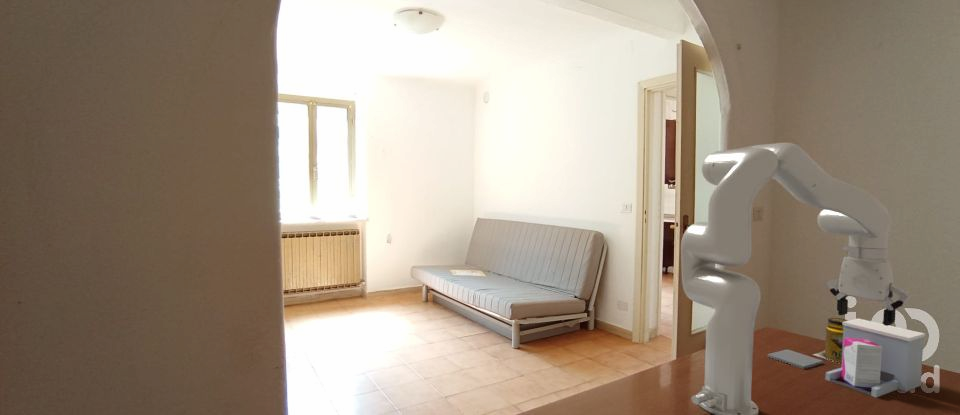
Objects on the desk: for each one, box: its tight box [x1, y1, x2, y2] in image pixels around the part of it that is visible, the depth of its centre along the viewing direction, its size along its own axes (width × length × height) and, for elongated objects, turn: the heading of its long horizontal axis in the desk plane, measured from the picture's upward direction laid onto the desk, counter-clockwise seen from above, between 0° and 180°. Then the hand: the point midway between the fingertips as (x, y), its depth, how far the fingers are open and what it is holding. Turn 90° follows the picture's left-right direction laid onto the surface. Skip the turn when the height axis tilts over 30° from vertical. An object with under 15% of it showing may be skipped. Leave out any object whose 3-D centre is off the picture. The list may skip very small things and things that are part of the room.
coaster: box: [766, 348, 824, 370], centre depth 132 cm, size 10×10×1 cm
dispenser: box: [824, 318, 926, 398], centre depth 118 cm, size 19×14×14 cm
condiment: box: [812, 317, 849, 363], centre depth 134 cm, size 7×8×12 cm
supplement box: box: [841, 338, 882, 391], centre depth 116 cm, size 6×6×12 cm
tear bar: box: [829, 379, 872, 397], centre depth 114 cm, size 1×9×1 cm, turn 26°
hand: (864, 319), depth 115 cm, fingers open, 9 cm apart
